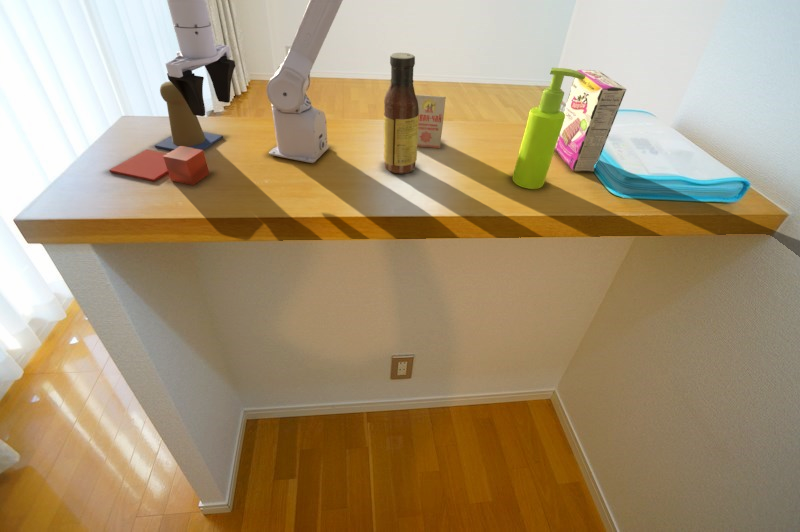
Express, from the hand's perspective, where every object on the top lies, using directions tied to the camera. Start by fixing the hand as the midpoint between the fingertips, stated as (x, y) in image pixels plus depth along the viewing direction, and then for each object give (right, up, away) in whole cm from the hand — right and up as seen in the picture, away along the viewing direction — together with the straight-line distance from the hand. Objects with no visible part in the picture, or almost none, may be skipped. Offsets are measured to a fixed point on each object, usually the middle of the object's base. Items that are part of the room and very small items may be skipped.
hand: (212, 108), depth 77 cm
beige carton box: (+40, -3, +13) cm, 42 cm away
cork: (-7, -4, +6) cm, 10 cm away
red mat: (-10, -11, -2) cm, 15 cm away
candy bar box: (+71, -7, +11) cm, 72 cm away
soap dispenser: (+60, -13, +2) cm, 61 cm away
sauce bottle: (+35, -10, +3) cm, 36 cm away
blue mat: (-7, -4, +6) cm, 11 cm away
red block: (-2, -14, -4) cm, 14 cm away
